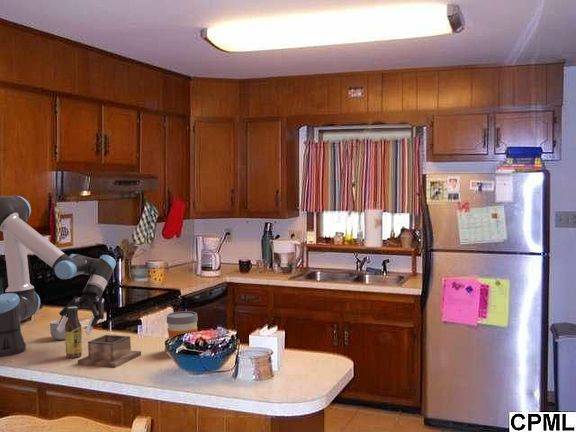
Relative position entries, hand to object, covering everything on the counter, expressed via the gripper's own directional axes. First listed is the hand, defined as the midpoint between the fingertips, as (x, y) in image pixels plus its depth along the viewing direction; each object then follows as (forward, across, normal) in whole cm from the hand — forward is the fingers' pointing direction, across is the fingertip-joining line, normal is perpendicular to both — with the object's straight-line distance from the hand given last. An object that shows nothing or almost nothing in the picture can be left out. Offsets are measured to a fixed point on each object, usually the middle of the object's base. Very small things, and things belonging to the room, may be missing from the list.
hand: (72, 332), depth 247 cm
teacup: (-10, +23, -25) cm, 35 cm away
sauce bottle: (+7, +1, -8) cm, 10 cm away
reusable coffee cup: (-6, -39, -21) cm, 44 cm away
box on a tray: (+7, -16, -8) cm, 19 cm away
